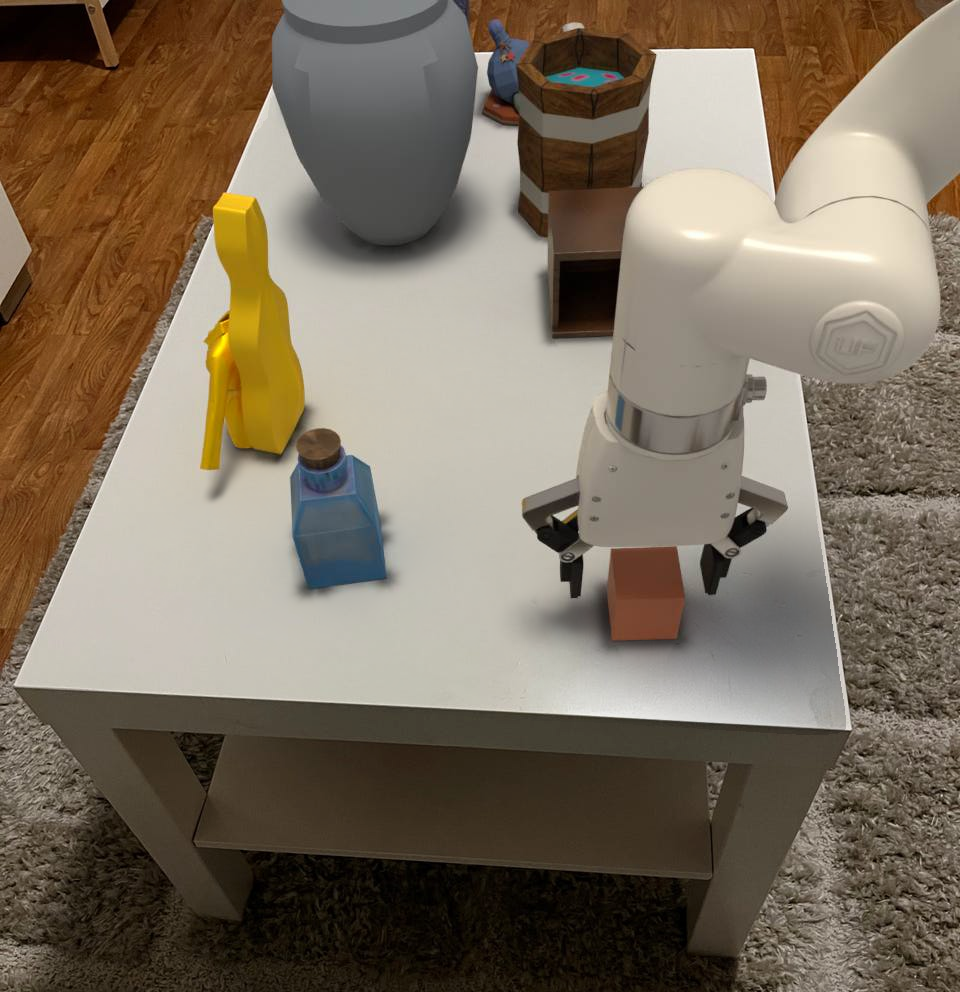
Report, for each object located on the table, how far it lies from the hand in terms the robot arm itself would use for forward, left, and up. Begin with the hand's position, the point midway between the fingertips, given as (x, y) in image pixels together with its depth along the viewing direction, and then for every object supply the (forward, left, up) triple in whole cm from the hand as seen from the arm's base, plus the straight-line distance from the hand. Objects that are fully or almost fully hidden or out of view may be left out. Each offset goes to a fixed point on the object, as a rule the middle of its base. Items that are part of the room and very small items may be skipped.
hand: (640, 581), depth 70 cm
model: (+5, -77, -4) cm, 77 cm away
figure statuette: (+30, -22, -4) cm, 37 cm away
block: (0, 0, -4) cm, 4 cm away
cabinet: (-4, -38, -4) cm, 38 cm away
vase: (+21, -53, -4) cm, 57 cm away
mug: (+1, -58, -4) cm, 58 cm away
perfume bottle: (+23, -7, -4) cm, 24 cm away
